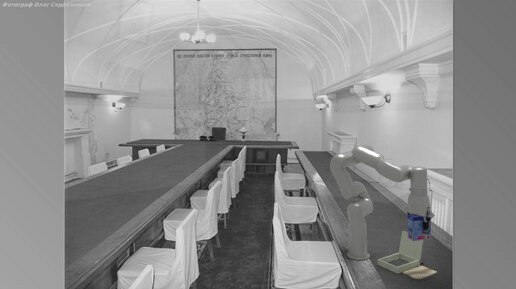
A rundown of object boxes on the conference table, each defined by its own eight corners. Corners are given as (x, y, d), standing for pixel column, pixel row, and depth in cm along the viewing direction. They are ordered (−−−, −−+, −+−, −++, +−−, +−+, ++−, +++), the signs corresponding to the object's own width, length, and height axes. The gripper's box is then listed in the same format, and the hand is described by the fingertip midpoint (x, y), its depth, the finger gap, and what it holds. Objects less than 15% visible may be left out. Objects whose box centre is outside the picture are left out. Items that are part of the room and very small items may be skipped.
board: (402, 273, 177) (402, 272, 177) (421, 266, 184) (420, 265, 184) (418, 280, 169) (418, 278, 169) (436, 272, 176) (436, 271, 176)
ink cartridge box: (413, 241, 172) (412, 212, 171) (407, 238, 177) (406, 209, 176) (432, 239, 173) (431, 210, 173) (424, 236, 179) (423, 207, 178)
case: (377, 264, 188) (377, 238, 187) (403, 256, 198) (403, 230, 197) (397, 273, 177) (397, 245, 176) (424, 263, 187) (424, 236, 186)
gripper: (399, 190, 179) (399, 224, 181) (429, 196, 164) (430, 233, 166) (408, 188, 183) (409, 222, 184) (440, 193, 168) (440, 230, 169)
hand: (419, 227), depth 175 cm, fingers closed on ink cartridge box, 6 cm apart
